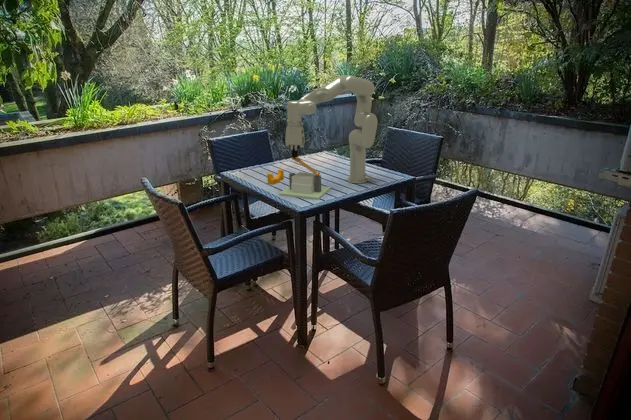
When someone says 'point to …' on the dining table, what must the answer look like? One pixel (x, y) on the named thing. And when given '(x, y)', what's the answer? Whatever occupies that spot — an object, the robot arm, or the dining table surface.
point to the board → (309, 196)
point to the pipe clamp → (275, 180)
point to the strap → (306, 165)
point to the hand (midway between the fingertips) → (294, 156)
